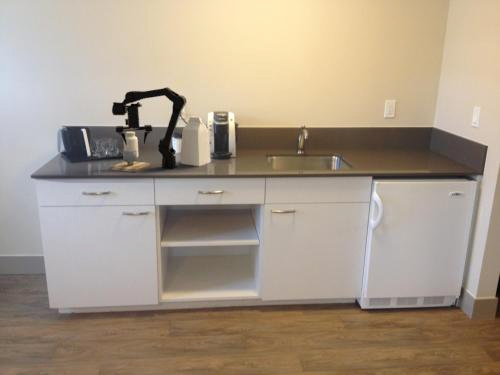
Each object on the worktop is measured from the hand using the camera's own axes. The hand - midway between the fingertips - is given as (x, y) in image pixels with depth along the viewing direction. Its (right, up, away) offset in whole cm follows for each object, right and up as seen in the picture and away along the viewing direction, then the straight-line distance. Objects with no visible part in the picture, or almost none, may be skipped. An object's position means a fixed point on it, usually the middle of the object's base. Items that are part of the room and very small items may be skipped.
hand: (135, 144), depth 243 cm
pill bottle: (-8, -5, +25) cm, 27 cm away
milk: (+31, -9, +14) cm, 35 cm away
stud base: (-3, -12, +1) cm, 13 cm away
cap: (-3, -8, 0) cm, 9 cm away
